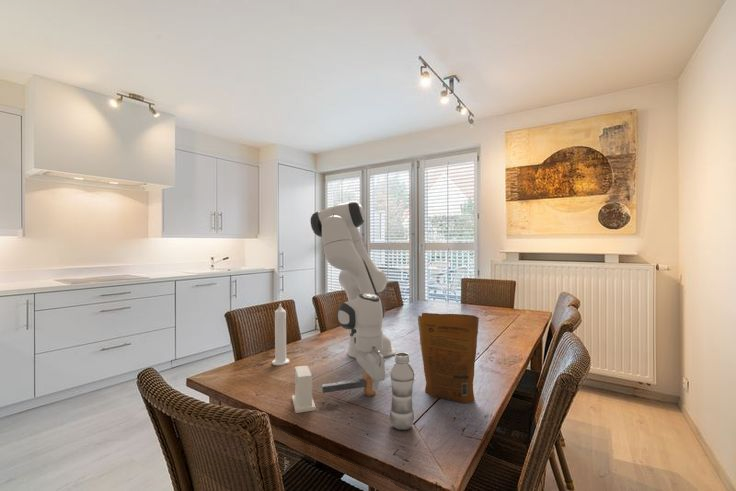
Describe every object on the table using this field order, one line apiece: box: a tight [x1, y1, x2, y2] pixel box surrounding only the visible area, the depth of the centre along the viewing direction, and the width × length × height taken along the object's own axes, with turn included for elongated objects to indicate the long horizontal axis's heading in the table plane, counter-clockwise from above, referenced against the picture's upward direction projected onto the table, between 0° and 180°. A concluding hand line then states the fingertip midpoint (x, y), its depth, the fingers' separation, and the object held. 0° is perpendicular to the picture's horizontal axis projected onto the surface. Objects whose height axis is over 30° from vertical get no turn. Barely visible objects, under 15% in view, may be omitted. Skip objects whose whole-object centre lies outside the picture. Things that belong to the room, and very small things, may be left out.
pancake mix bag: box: [417, 312, 480, 404], centre depth 113 cm, size 7×19×28 cm, turn 63°
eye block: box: [291, 364, 317, 414], centre depth 109 cm, size 6×10×10 cm, turn 18°
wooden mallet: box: [321, 370, 376, 397], centre depth 114 cm, size 18×3×8 cm, turn 108°
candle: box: [271, 302, 290, 366], centre depth 145 cm, size 7×7×25 cm
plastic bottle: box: [389, 352, 415, 431], centre depth 95 cm, size 6×7×20 cm
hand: (369, 384), depth 116 cm, fingers open, 8 cm apart
